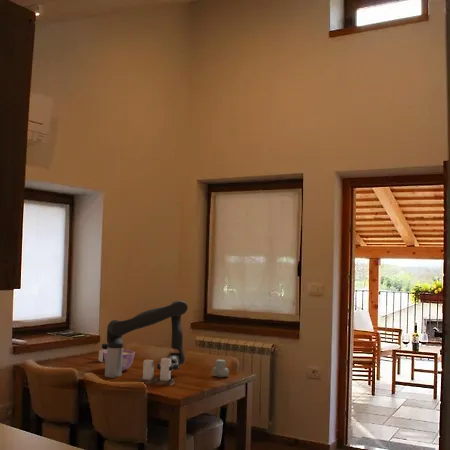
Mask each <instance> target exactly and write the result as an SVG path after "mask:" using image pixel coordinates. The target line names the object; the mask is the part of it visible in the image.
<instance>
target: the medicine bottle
mask: <svg viewBox="0 0 450 450" xmlns="http://www.w3.org/2000/svg"><path fill="white" fill-rule="evenodd" d="M107 347H108V344H107V343H103V344H101V349H100V350H98V362H100V363H102V362H105V359H104V353H103V351H105V350H107Z"/></svg>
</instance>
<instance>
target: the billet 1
mask: <svg viewBox="0 0 450 450" xmlns="http://www.w3.org/2000/svg"><path fill="white" fill-rule="evenodd" d="M142 363H143V364H142V365H143V367H142V377H143V380H151V381H153V378H154V369H155V359H144V360H143V362H142Z"/></svg>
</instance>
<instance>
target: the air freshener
mask: <svg viewBox="0 0 450 450" xmlns="http://www.w3.org/2000/svg"><path fill="white" fill-rule="evenodd" d="M211 373H212V375H213V376H215V377H216V376H217V377H216V378H225V377H227V376H228V375H229V374H230V371H229V368H227V367H226V360H225V359H216V363H215V366H214V367H213V368H212V369H211Z"/></svg>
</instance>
